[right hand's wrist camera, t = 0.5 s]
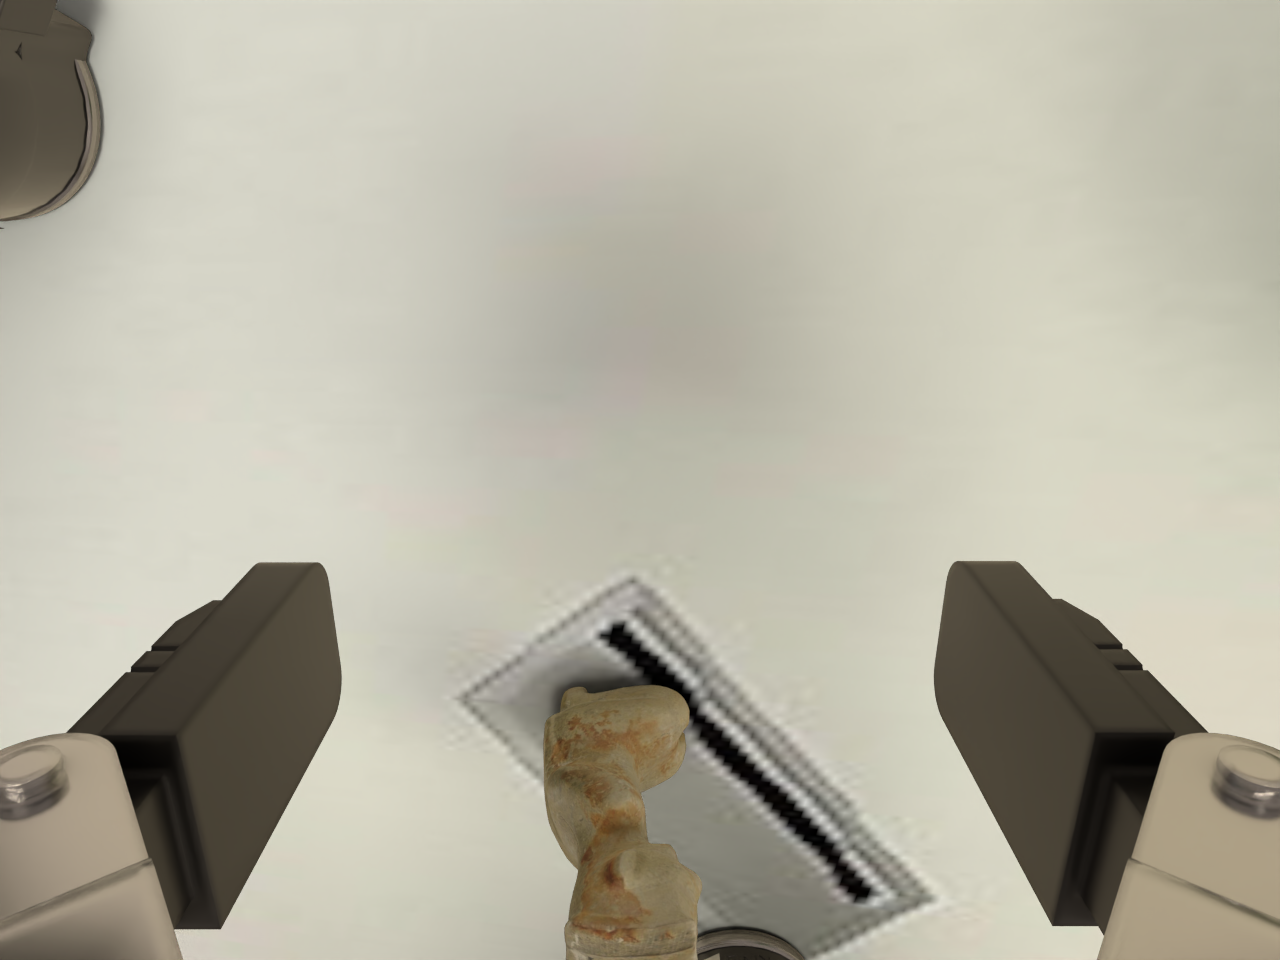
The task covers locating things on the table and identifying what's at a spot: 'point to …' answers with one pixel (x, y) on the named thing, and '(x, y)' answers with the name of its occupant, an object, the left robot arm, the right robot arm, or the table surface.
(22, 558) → the table surface
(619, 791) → the sculpture
